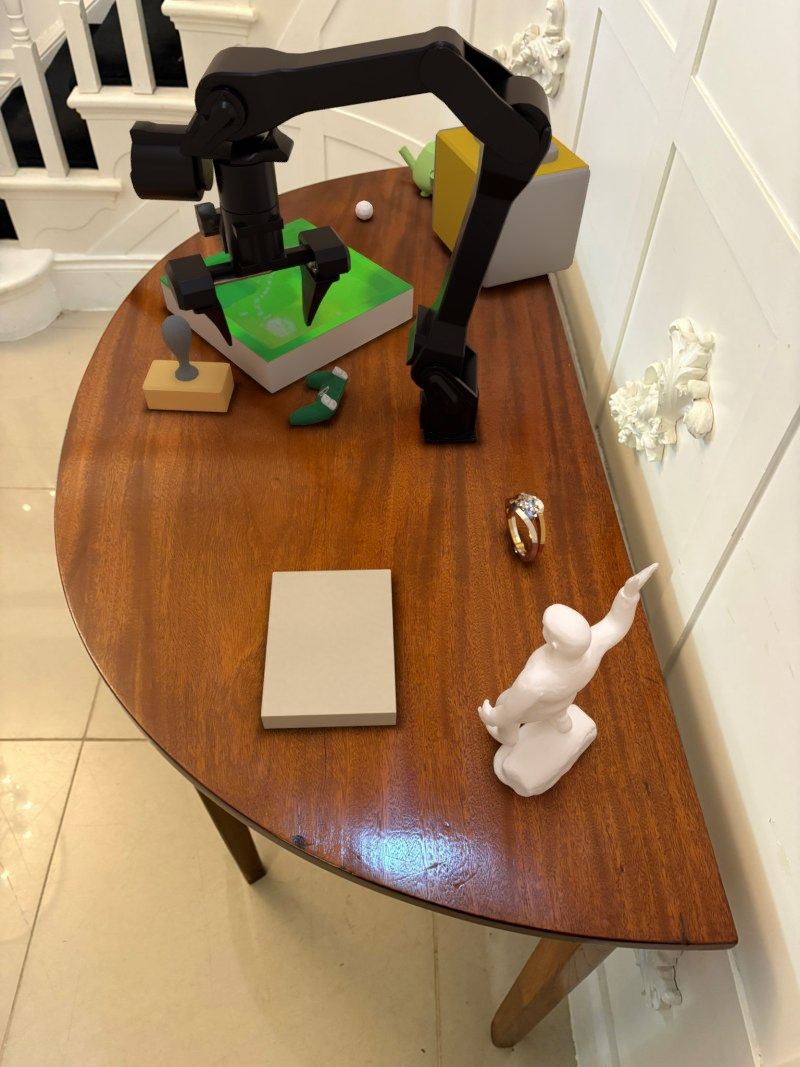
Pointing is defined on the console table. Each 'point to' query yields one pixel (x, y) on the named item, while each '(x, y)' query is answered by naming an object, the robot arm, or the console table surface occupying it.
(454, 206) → the alarm clock
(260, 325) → the tray
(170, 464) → the console table surface
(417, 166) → the teapot
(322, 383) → the green curved piece
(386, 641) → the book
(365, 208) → the polyhedron
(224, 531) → the console table surface
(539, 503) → the ring
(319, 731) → the console table surface
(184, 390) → the rubber stamp
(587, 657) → the figurine
